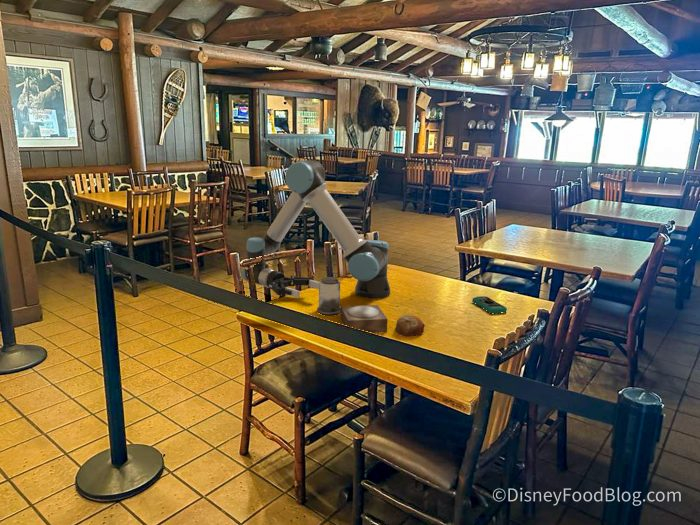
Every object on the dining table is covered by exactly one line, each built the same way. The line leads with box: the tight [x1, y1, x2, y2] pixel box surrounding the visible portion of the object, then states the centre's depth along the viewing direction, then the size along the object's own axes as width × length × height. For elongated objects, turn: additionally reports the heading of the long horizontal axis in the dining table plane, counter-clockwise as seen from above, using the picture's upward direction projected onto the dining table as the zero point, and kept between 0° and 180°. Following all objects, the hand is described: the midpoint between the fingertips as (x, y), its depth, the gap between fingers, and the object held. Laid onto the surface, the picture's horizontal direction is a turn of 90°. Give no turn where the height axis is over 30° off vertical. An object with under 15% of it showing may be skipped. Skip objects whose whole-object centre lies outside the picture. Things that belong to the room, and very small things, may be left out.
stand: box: [339, 304, 388, 334], centre depth 179 cm, size 14×14×5 cm
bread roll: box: [394, 314, 425, 338], centre depth 176 cm, size 10×10×8 cm
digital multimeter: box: [471, 295, 508, 314], centre depth 203 cm, size 7×15×3 cm, turn 18°
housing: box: [316, 276, 341, 317], centre depth 190 cm, size 9×9×13 cm
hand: (310, 290), depth 196 cm, fingers open, 13 cm apart
